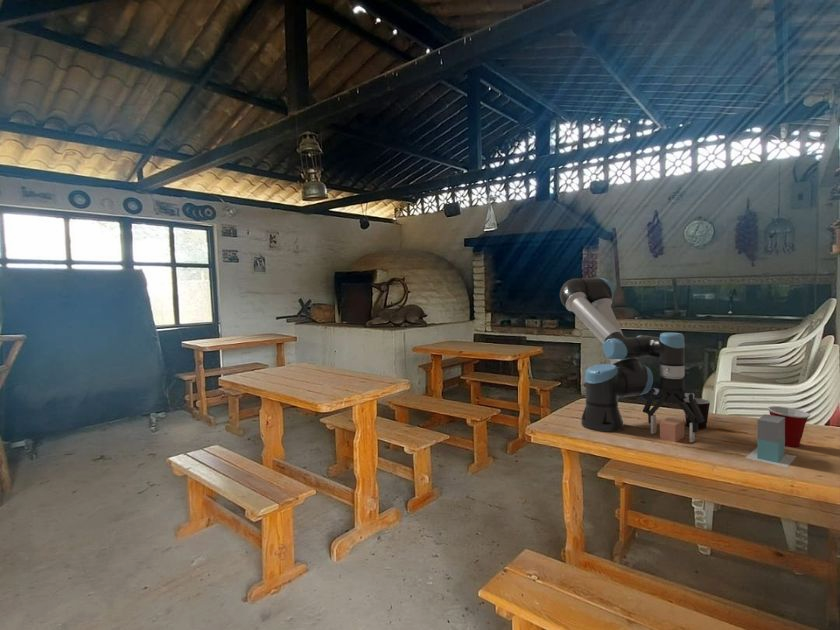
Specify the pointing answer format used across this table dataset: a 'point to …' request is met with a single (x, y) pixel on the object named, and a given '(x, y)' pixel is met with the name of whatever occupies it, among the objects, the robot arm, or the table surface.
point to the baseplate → (783, 462)
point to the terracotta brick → (672, 429)
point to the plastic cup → (791, 423)
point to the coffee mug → (703, 408)
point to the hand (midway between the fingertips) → (672, 436)
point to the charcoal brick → (771, 428)
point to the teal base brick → (770, 450)
